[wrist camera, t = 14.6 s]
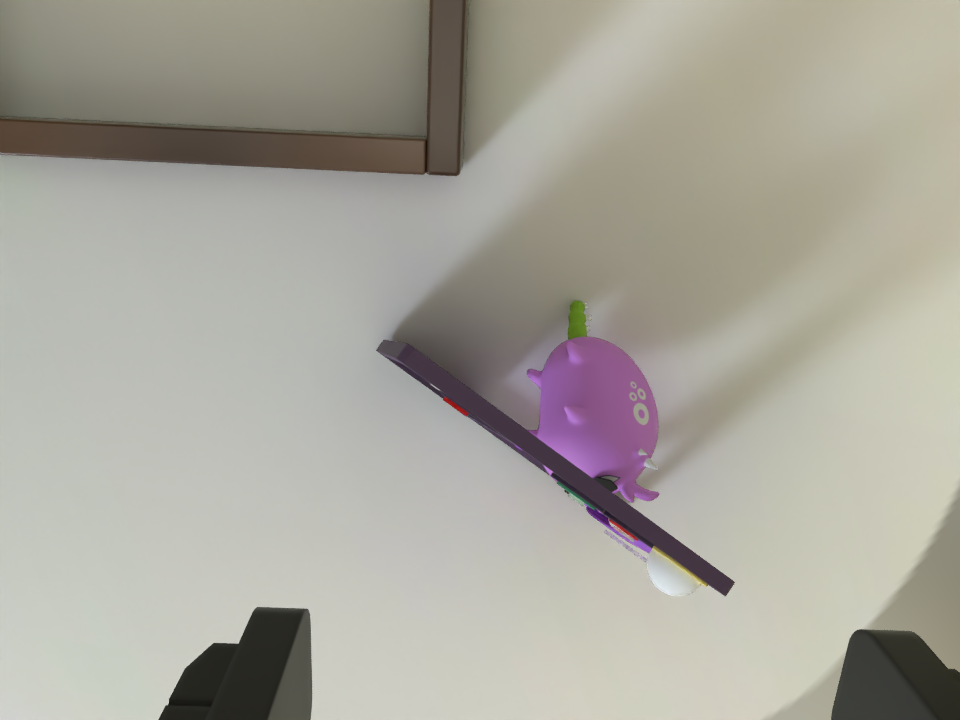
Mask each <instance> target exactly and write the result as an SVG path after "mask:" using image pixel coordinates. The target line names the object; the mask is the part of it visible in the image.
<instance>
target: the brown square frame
mask: <svg viewBox="0 0 960 720" xmlns="http://www.w3.org/2000/svg"><path fill="white" fill-rule="evenodd" d="M468 15H469V0H430V11H429V55H428V99H427V137H425V136H404V135H383V134H363V133H342V132H321V131H300V130H279V129H258V128H238V127H217V126H196V125H175V124H154V123H133V122H113V121H92V120H71V119H50V118H29V117H8V116H0V155H20V156H41V157H62V158H83V159H104V160H125V161H146V162H167V163H188V164H209V165H230V166H251V167H272V168H294V169H315V170H336V171H357V172H378V173H399V174H420V175H423V174H425V173H426V172H427V174H429V175H443V176H457V175H459V173H460V171H461V169H462V167H463V149H464V122H465V95H466V69H467V42H468Z"/></svg>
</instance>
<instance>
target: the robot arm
mask: <svg viewBox="0 0 960 720" xmlns="http://www.w3.org/2000/svg"><path fill="white" fill-rule="evenodd" d="M311 709H312V666H311V624H310V613H309V610H308V609H298V608H269V607H257V608H255V610H254V611H253V613H252V615H251V617H250V619H249V622H248V624H247V626H246V628H245V631H244V633H243V635H242V637H241V640H240V642H239V644H227V643H213V644H212V645H211V646H210V647H209V648H208V649H206V650H205V651H204V652H203V653H202V654H201V655H200V656H199V657H198V658H196V659H195V660H194V661H193V662H192V663H191V664H190V665H189V666H187V667H186V668H185V670H184V672H183V674H182V676H181V678H180V679H179V681H178V683H177V685H176V687H175V689H174V691H173V693H172V695H171V697H170V699H169V704H168V706H167V705H166V706H165V708H164V710H163V712H162V714H161V716H160V718H159V720H310V718H311ZM831 720H960V673H959V672H958V671H957V670H955V669H948V668H947V667H946V666H945V665H944V664H943V663H942V661H941V660H940V659H939V658H938V657H937V656H936V655H935V654H934V652H933V651H932V650H931V649H930V648H929V647H928V646H927V644H926V643H925V642H924V641H923V640H922V639H921V638H920V637H919V636H918V635H917V634H915V633H914V632H911V631H893V630H864V629H860V630H857V631H855V632H854V633H853V634H852V636H851V638H850V640H849V644H848V648H847V652H846V656H845V660H844V664H843V668H842V673H841V677H840V681H839V685H838V689H837V693H836V697H835V701H834V705H833V710H832V717H831Z"/></svg>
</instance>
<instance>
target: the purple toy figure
mask: <svg viewBox="0 0 960 720" xmlns="http://www.w3.org/2000/svg"><path fill="white" fill-rule="evenodd" d="M586 304H587V303H582V302H581V301H574V302H572V303H571V305H570V313H569V327H568V340H567V341H565V342H563V343H561V344H560V345H558V346H557V347H556V348H555V349H554V350H553V352H552V353H551V354H550V356H549V358H548V360H547V362H546V364H545V367H544V370H543V371H537V370H533V369H528V370H527V375H528V377H529V378H530V379H531V380H532V381H533V382H534V383H535V384H537V385H538V386H539V388H540V389H541V399H540V420H539V428H538V429H537V430H528V431H527V430H526V429H524V428H523V427H522V426H520V425H519V424H517V423H516V422H515V421H513V420H512V419H511V418H509V417H508V416H507V415H505V414H504V413H502V412H501V411H500V410H498V409H497V408H496V407H494V406H493V405H491V404H490V403H489V402H487V401H486V400H485V399H483V398H482V397H480V396H479V395H478V394H476V393H475V392H474V391H472V390H471V389H470V388H468V387H467V386H465V385H464V384H463V383H461V382H460V381H459V380H457V379H456V378H454V377H453V376H452V375H450V374H449V373H448V372H446V371H445V370H443V369H442V368H441V367H439V366H438V365H437V364H435V363H434V362H433V361H431V360H430V359H428V358H427V357H426V356H424V355H423V354H422V353H420V352H419V351H417V350H416V349H415V348H413V347H412V346H410V345H409V344H407V343H401V342H395V341H389V340H383V342H382V343H381V344H380V346H379V347H378V348H377V350H376V351H378V352H379V353H380V354H382V355H383V356H385V357H386V358H387V359H389V360H390V361H392V362H393V363H394V364H396V365H397V366H399V367H400V368H401V369H403V370H404V371H405V372H407V373H408V374H410V375H411V376H412V377H414V378H415V379H417V380H418V381H419V382H421V383H422V384H423V385H425V386H426V387H428V388H429V389H430V390H432V391H433V392H435V393H436V394H437V395H439V396H440V397H442V398H443V400H444V401H445V402H447V403H448V404H450V405H451V406H452V407H454V408H455V409H457V410H458V411H459V412H461V413H462V414H463V415H465V416H468V417H469V418H471V419H472V420H473V421H475V422H476V423H478V424H479V425H480V426H482V427H483V428H485V429H486V430H487V431H489V432H490V433H492V434H493V435H494V436H496V437H497V438H498V439H500V440H501V441H503V442H504V443H505V444H507V445H508V446H510V447H511V448H512V449H514V450H515V451H516V452H518V453H519V454H521V455H522V456H523V457H525V458H526V459H528V460H529V461H530V462H532V463H533V464H535V465H536V466H537V467H539V468H540V469H541V470H543V471H544V472H546V473H547V474H548V475H550V476H551V477H552V478H553V479H554V480H555V481H556V482H557V484H558V485H560V486H561V487H562V488H564V489H565V492H566V493H567V494H569V495H568V496H569V497H571V498H572V499H573V500H575V501H576V502H577V503H579V504H580V505H582V506H583V504H584V505H585V506H586V509H587V511H588V513H589V514H590V515H591V516H593V517H594V518H595V519H597V520H598V521H599V522H601V523H602V524H604V525H605V526H606V527H608V528H609V529H610V530H612V531H613V532H615V533H616V534H617V535H619V536H620V537H622V538H623V539H625V540H626V541H628V542H629V543H631V544H633V545H635V546H637V547H639V548H641V549H642V550H644V551H646V552H648V553H649V556H648V560H647V559H646V558H644V557H643V556H642V555H640V554H639V553H637V552H636V551H635V550H633V549H632V548H630V547H629V546H628V545H626V544H625V543H623V542H622V541H621V540H619V539H618V538H616V537H615V536H614V535H612V534H611V533H610V532H608V531H607V530H606V531H605V532H604V533H606V534H607V535H608V536H610V537H611V538H613V539H614V540H615V541H617V542H618V543H619V544H621V545H622V546H624V547H625V548H626V549H628V550H629V551H630V552H632V553H633V554H634V555H636V556H637V557H639V558H640V559H641V560H643V561H644V562H646V561H647V570H648V574H649V577H650V579H651V581H652V583H653V584H654V585H655V586H656V587H657V588H658V589H659V590H660V591H662V592H663V593H665V594H668V595H671V596H685V595H688V594H690V593H692V592H694V591H695V590H696V589H697V588H698V587H699V586H700V585H701V584H702V585H704V586H705V587H707V586H708V585H709V586H711V587H712V588H714V589H715V590H717V591H718V592H720V593H721V594H723V595H724V596H726V595H727V594H728V592H729V591H730V589H731V588H732V586H733V585H734V583H735V582H734V581H733V580H731V579H730V578H729V577H727V576H726V575H724V574H723V573H722V572H720V571H719V570H718V569H716V568H715V567H713V566H712V565H711V564H709V563H708V562H707V561H705V560H704V559H703V558H701V557H700V556H698V555H697V554H696V553H694V552H693V551H692V550H690V549H689V548H687V547H686V546H685V545H683V544H682V543H681V542H679V541H678V540H676V539H675V538H674V537H672V536H671V535H670V534H668V533H667V532H665V531H664V530H663V529H661V528H660V527H659V526H657V525H656V524H655V523H653V522H652V521H650V520H649V519H648V518H646V517H645V516H644V515H642V514H641V513H639V512H638V511H637V510H635V509H634V508H633V507H631V506H630V505H628V504H627V503H626V502H624V501H623V500H622V499H620V498H619V497H618V496H616V495H615V494H614V493H616V492H618V491H620V492H621V493H622V495H623V496H624V497H625V498H626V499H627V500H628V501H630V502H634V496H635V497H637V498H640V499H642V500H645V501H651V500H654V499H655V498H657V497H658V496H659V492H654V491H649V490H646V489H644V488H642V487H640V486H638V485H637V484H636V478H637V477H638V476H639V475H640V474H641V473H642V471H643V470H644V469H645V467H646V466H647V467H649V468H652V469H655V470H659V469H658V468H657V466H656V465H655V464H654V463H653V462H652V460H651V459H650V458H651V456H652V454H653V452H654V449H655V446H656V442H657V437H658V413H657V408H656V404H655V400H654V397H653V394H652V392H651V389H650V387H649V385H648V383H647V381H646V379H645V377H644V375H643V374H642V372H641V370H640V369H639V367H638V366H637V365H636V364H635V362H634V361H633V360H632V359H631V358H630V357H629V356H628V355H627V354H626V353H625V352H624V351H622V350H621V349H620V348H618V347H617V346H615V345H613V344H611V343H609V342H607V341H605V340H602V339H598V338H594V337H587V332H589V331H590V330H589V329H588V328H589V327H590V326H587V327H586V326H585V321H587V320H589V321H591V319H590V317H591V316H592V315H589V316H586V315H585V314H584V309H588V307H586ZM608 518H609V520H608ZM609 521H610V522H611V523H612V524H614V525H615V526H617V527H618V528H620V529H621V530H622V531H621V530H620V529H618V528H617V527H615V526H614V527H611V525H610V524H609ZM624 532H625V533H626V534H625V533H624ZM628 535H629V536H628Z"/></svg>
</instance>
